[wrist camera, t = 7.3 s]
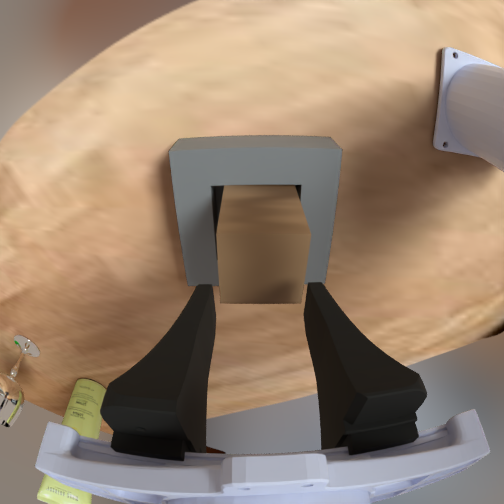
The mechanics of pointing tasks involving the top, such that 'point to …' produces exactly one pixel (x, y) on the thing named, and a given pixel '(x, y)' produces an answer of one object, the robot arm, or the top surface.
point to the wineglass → (14, 385)
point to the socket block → (252, 173)
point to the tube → (86, 424)
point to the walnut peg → (262, 245)
